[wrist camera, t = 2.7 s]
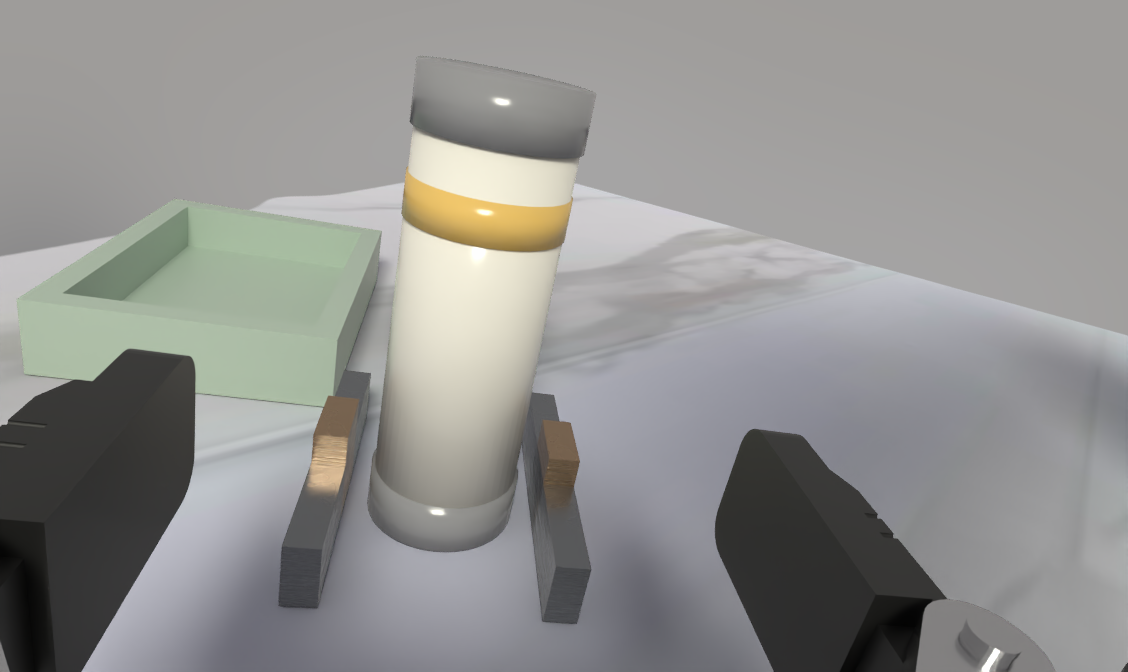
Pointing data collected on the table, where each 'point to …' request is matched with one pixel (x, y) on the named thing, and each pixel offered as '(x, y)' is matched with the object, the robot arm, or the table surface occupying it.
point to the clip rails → (547, 486)
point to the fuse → (471, 295)
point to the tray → (211, 302)
